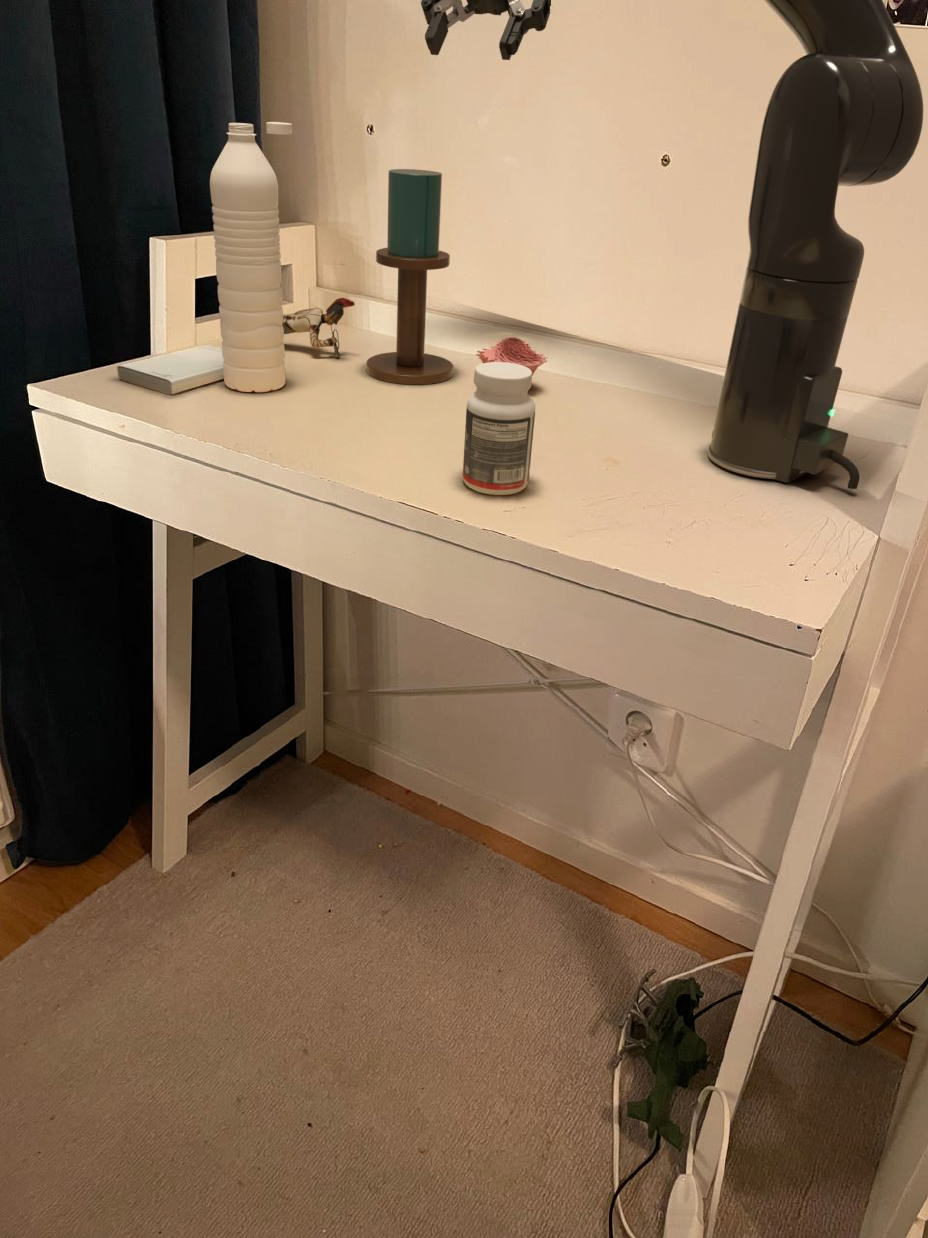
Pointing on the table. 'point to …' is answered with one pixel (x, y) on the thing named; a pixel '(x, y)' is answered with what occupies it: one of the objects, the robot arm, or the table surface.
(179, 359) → the hard drive
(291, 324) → the figurine
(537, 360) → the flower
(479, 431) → the pill bottle
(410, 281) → the pedestal stand
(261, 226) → the water bottle
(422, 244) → the cylinder
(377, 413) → the table surface
